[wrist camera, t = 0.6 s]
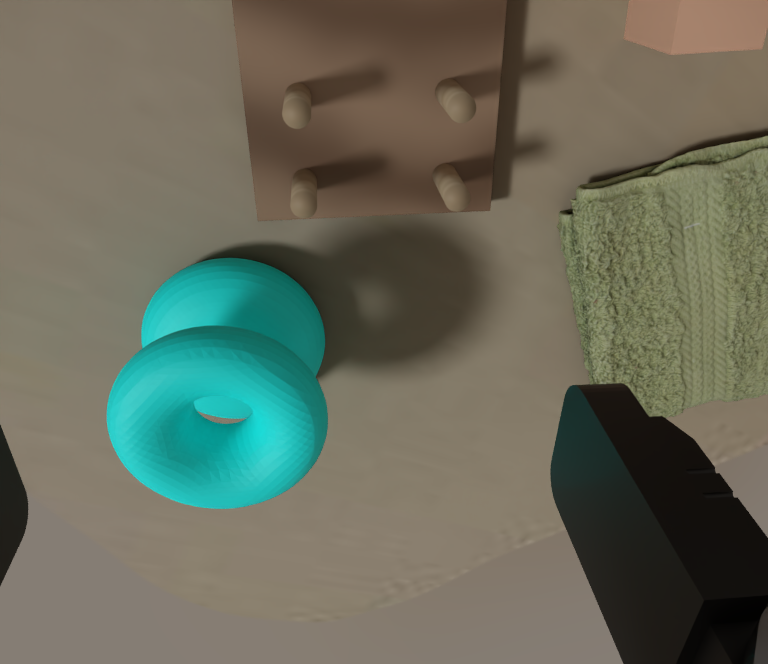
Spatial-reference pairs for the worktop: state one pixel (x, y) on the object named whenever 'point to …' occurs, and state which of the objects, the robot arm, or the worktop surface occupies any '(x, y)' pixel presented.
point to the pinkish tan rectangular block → (697, 25)
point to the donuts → (223, 387)
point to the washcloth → (675, 277)
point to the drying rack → (370, 104)
